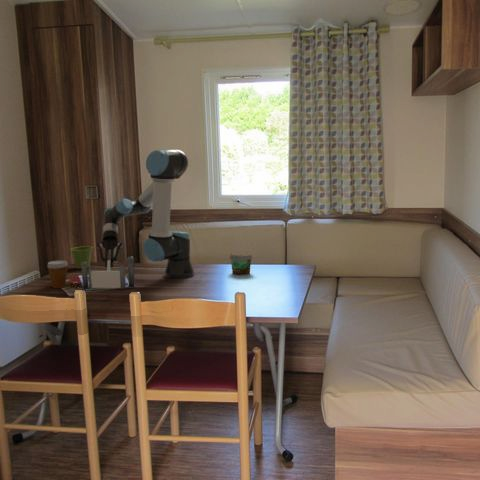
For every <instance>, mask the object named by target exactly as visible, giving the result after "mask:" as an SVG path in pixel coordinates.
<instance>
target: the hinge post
mask: <svg viewBox="0 0 480 480" xmlns="http://www.w3.org/2000/svg"><path fill="white" fill-rule="evenodd" d="M81 264H82V269H81V276H82V287H81V289H82V290H81V291H87V290H86V289H89V290H91V288H89V274H88V268H87V262H81Z"/></svg>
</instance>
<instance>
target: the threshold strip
mask: <svg viewBox="0 0 480 480" xmlns="http://www.w3.org/2000/svg"><path fill="white" fill-rule="evenodd" d="M91 289H95V290H112V289H119V288H90V290H91ZM125 289H128V285H126V288H125Z"/></svg>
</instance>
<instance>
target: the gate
mask: <svg viewBox="0 0 480 480" xmlns="http://www.w3.org/2000/svg"><path fill="white" fill-rule="evenodd" d="M125 268H126V267H125V266H124V265H120V266H119V269H118V270H111V271H107V270H93V268H87V274H88V287H89V288H90V289H91V288H118V289H127V288H126V286H127V285H126V269H125Z"/></svg>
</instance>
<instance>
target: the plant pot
mask: <svg viewBox="0 0 480 480" xmlns="http://www.w3.org/2000/svg"><path fill="white" fill-rule="evenodd" d="M92 249H93V246H90V245H89V246H87V245H86V246H85V245H84V246H77V247H72V248H70V249H69V250H70V251H71V253H72V256H73V259H74V263H75V267H76V269H78V270H79V269H80V270H82V264H81V262H87V269H89V268H90V266H91V256H92V251H93V250H92Z"/></svg>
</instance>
